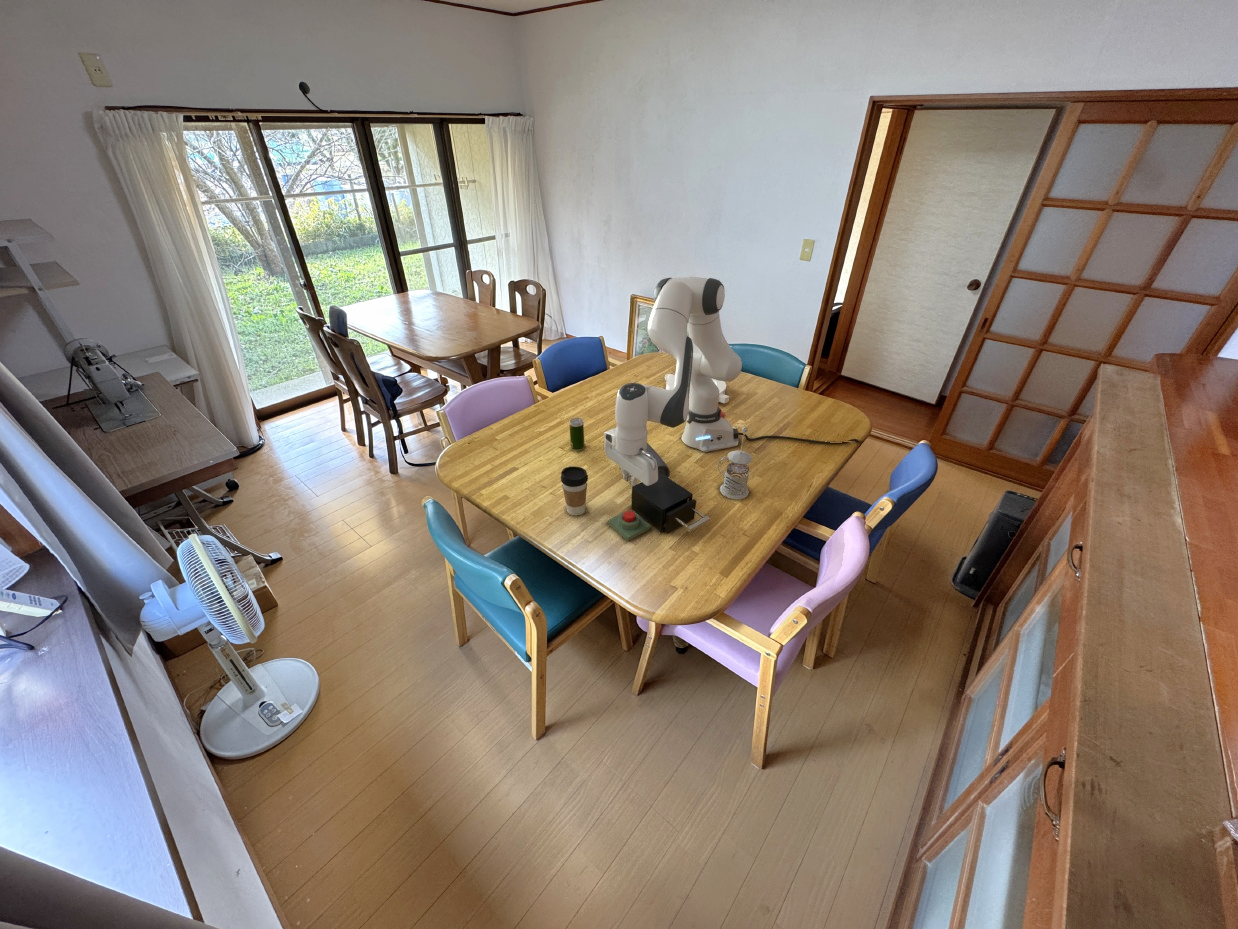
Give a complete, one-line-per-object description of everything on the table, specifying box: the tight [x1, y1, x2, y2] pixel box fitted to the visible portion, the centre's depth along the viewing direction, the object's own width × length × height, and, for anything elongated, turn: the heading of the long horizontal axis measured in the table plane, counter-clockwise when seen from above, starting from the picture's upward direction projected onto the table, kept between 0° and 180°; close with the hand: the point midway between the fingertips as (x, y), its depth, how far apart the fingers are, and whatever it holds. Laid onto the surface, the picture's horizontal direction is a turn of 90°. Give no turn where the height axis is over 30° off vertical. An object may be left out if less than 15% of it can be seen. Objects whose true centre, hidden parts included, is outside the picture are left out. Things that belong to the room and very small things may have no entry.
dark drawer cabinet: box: [630, 473, 694, 534], centre depth 153 cm, size 15×13×9 cm
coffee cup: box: [560, 466, 589, 516], centre depth 153 cm, size 8×8×15 cm
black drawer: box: [663, 498, 710, 534], centre depth 149 cm, size 21×11×7 cm, turn 38°
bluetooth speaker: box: [646, 442, 671, 478], centre depth 173 cm, size 23×9×10 cm, turn 23°
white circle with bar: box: [664, 372, 730, 405], centre depth 229 cm, size 28×28×5 cm
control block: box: [607, 508, 652, 542], centre depth 149 cm, size 10×9×4 cm
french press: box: [717, 426, 753, 500], centre depth 160 cm, size 10×12×25 cm
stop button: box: [623, 510, 636, 522], centre depth 148 cm, size 4×4×2 cm
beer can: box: [568, 417, 585, 452], centre depth 185 cm, size 5×5×12 cm
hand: (630, 482), depth 141 cm, fingers closed
